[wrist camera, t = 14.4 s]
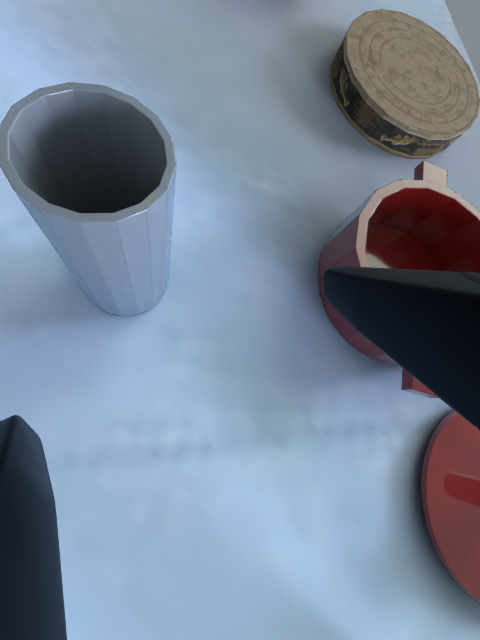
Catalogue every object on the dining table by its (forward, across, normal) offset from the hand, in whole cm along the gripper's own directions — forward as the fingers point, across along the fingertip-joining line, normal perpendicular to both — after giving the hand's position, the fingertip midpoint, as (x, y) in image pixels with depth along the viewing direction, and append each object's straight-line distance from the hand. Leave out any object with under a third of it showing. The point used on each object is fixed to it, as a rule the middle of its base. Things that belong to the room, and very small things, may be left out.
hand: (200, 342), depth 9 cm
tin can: (+21, -34, -2) cm, 40 cm away
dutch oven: (+8, -20, +10) cm, 24 cm away
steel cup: (+15, 0, +4) cm, 16 cm away
